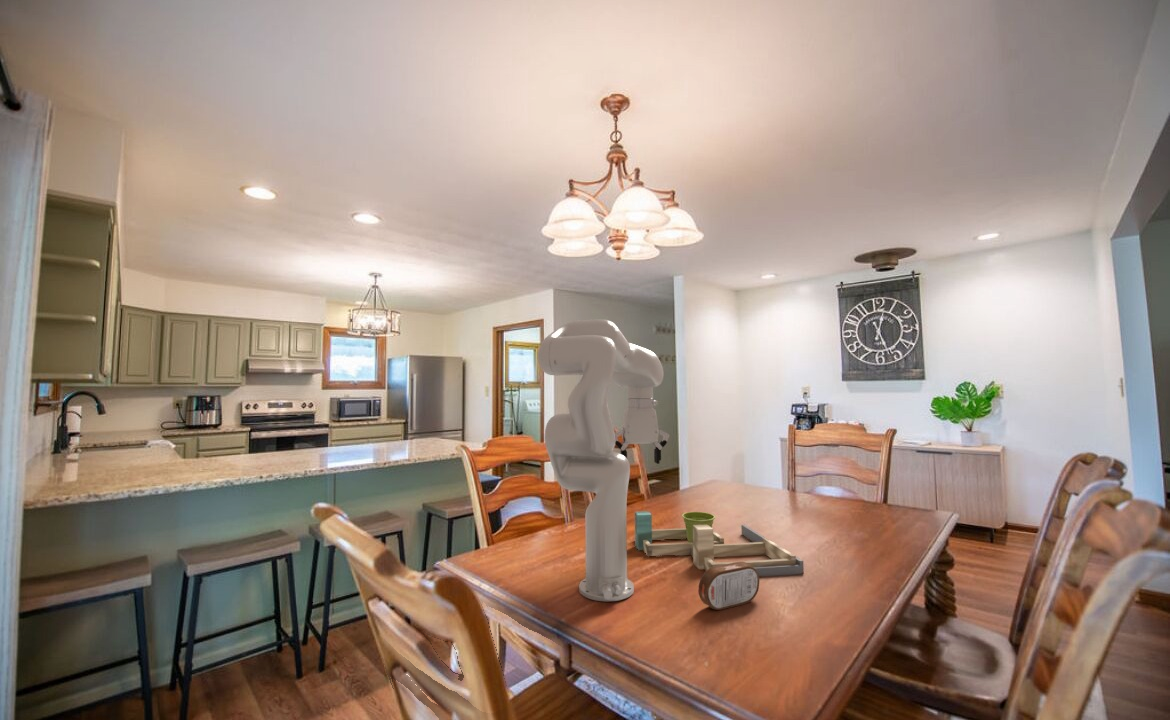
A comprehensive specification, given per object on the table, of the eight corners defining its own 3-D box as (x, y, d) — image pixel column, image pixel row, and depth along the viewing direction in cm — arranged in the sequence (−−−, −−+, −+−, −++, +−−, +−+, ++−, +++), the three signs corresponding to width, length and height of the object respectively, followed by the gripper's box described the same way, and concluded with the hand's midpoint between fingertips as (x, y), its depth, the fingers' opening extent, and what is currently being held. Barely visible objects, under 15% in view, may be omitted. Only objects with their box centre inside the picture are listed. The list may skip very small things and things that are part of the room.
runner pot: (724, 552, 134) (723, 516, 135) (642, 557, 131) (642, 520, 132) (704, 537, 148) (704, 504, 149) (631, 540, 145) (630, 507, 146)
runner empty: (796, 572, 120) (795, 531, 120) (706, 577, 117) (706, 535, 117) (767, 552, 134) (766, 516, 135) (686, 556, 131) (686, 519, 132)
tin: (752, 595, 107) (751, 557, 107) (762, 601, 104) (761, 561, 104) (697, 609, 100) (696, 568, 101) (707, 615, 97) (706, 573, 98)
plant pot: (709, 553, 134) (708, 521, 134) (677, 547, 139) (677, 517, 140) (719, 544, 142) (719, 514, 142) (689, 538, 147) (688, 510, 147)
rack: (804, 573, 119) (804, 561, 119) (714, 579, 116) (714, 566, 116) (744, 534, 151) (744, 524, 151) (673, 537, 148) (672, 527, 148)
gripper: (665, 404, 145) (665, 461, 144) (609, 404, 143) (609, 462, 142) (672, 404, 138) (673, 464, 137) (613, 405, 136) (614, 466, 135)
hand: (640, 463), depth 140 cm, fingers open, 9 cm apart
